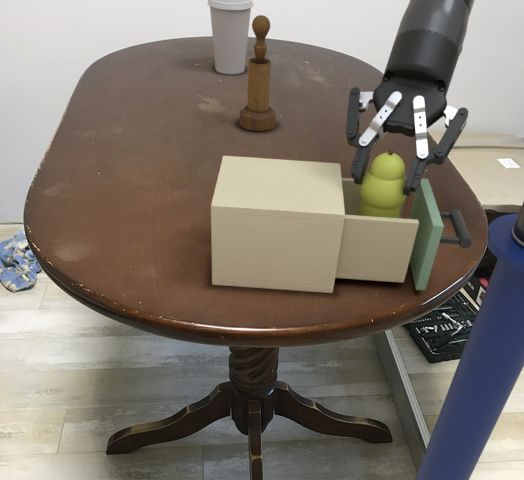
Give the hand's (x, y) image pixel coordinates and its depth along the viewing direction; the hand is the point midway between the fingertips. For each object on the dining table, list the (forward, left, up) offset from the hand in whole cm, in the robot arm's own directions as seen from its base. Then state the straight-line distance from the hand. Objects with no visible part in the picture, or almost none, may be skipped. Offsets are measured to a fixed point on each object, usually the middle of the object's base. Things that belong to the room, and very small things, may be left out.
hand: (381, 187), depth 67 cm
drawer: (-2, -2, -11) cm, 11 cm away
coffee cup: (+25, -76, -12) cm, 80 cm away
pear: (-1, -2, -4) cm, 5 cm away
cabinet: (+12, -2, -12) cm, 17 cm away
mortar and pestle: (+17, -46, -12) cm, 50 cm away
